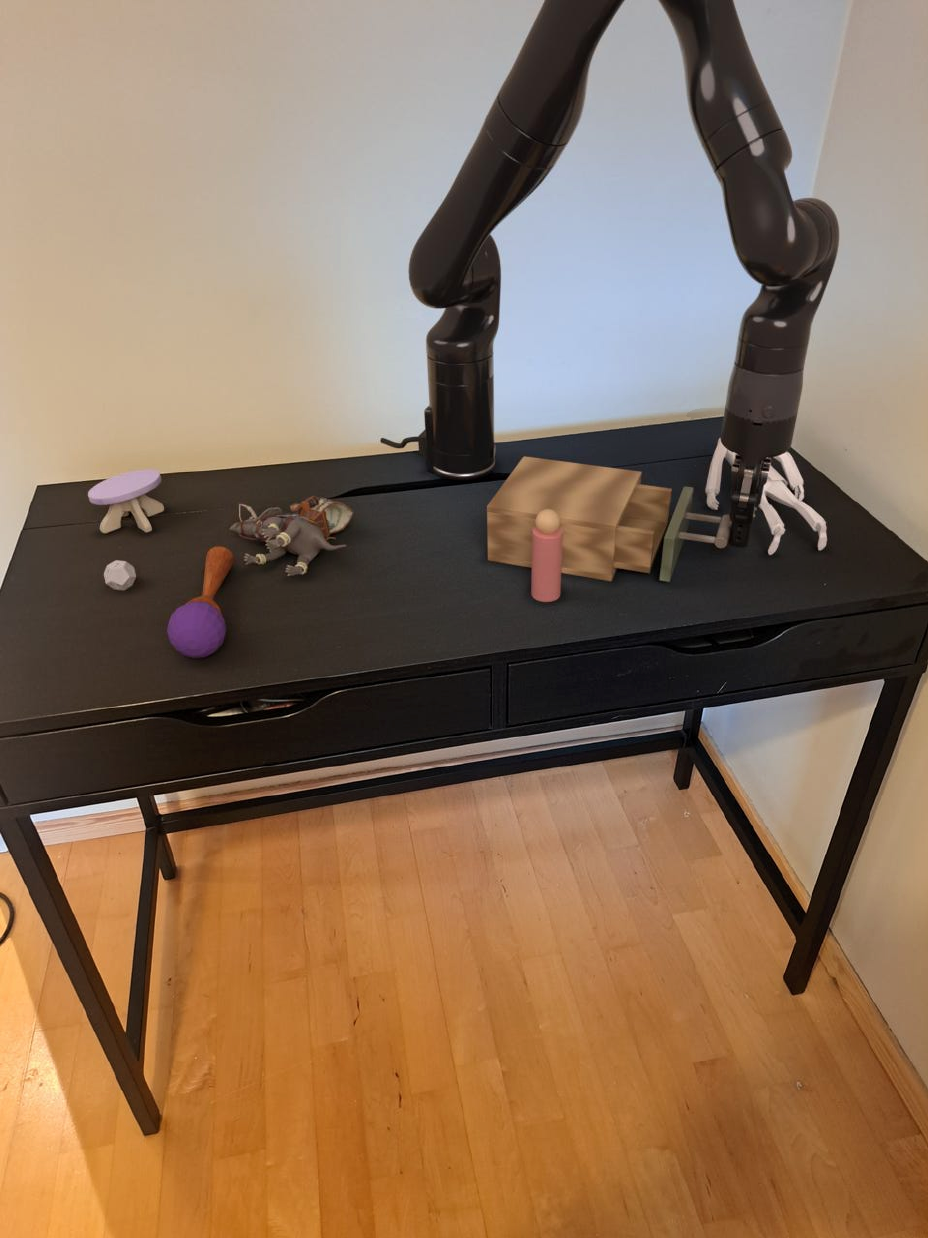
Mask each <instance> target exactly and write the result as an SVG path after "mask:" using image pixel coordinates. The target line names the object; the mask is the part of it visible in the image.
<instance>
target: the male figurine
mask: <svg viewBox="0 0 928 1238" xmlns="http://www.w3.org/2000/svg"><path fill="white" fill-rule="evenodd" d="M735 455H736V453H734V452H731V451H729V450H728V449H726V448H725V447H724V446H723V444H722V442H721V437H719V438H718V440H717V445H716V448H715V450H714V453H713V455H712V459H711V461H710V465H709V471H708V474H707V481H706V485H705V489H704V491H705V495H706V496H707V497H706V504H707V507H708V508H710V509H711V510H713V511H718V508H719V504H720V502H719V501H718V500H717V499H716V496H717V497H718V495H719V493H720V491H721V490H720V489H721V481H722V472H723V471H722V470H723V462H724V460H726V461H727V463H728V464H729V465H730V466H731V467H732V465H733V463H734V460H735ZM772 458H773V459H775V460H776V461H778V462H779V463H780V464H781V467H782V470H783V472H784V475H785V478H786V479H785V478H784V477H783V476H782V475H781V473H779V472H778V471H777V470H776V469H775V468H774V467H773V466H772V463H771V464H770V469H769V473H768V478H767V482H766V484H765V485H764V489H763V494H762V498H761V503H760V505H758V506H757V508H759V510H762V511H763V514H764V517H765V519H766V522H767V524H768V527H769V529H770V534H771V535H773V539H772V541H771V542H770V545H769V547H768V549H767V554H768V555H769V556H771V555H773V554H774V553H776V551H777V549H778V547H779V545H780V542H781V537H782V535H784V534H785V532H786V528H785V523H784V522H783V520H782V518H781V517H780V515H779V514H778V511H777V510H776V509H775V507H773V505H772V504H770V503H769V502H768V499H767V497H768V498H769V499H771V500H772V501H775V502H777V503H779V504H781V505H784V506H787V507H788V508H792V509H794V510H795V511H797V512H798V513H799V514H800V515H801V517H803V519H804V520H805V521H806V522H807V523H808V525H809V526H810V527H811V528H812V530H813V532H817V534H818V540H817V549H818V551H822V550H824V549H825V547H826V546H827V541H828V537H827V525H826V524H827V521H826V520H825V519H824V518H823V517H822V516H821V515H820V514H819V513H818V512H817V511H815V509H813V508H812V507H811V506H810V505H808V504H806V503H805V502H804V501H803V500H804V498H805V488H804V484H805V483H804V479H803V477H802V475H801V473H800V470H799V468H798V466H797V464H796V462H795V459H794V457H793V456H792V455H791V453H790V452H788V451H787V452H785V453H784V454H782V455H779V456H776V457H772ZM788 486H789V488H790V489H791V490H793V491H794V493H792V492H791V490H790V489H789V488H788Z"/></svg>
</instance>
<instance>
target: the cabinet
mask: <svg viewBox="0 0 928 1238" xmlns="http://www.w3.org/2000/svg"><path fill="white" fill-rule="evenodd" d="M642 472H643V471H638V470H631V469H623V468H617V467H616V468H615V467H608V466H600V465H592V464H585V463H578V462H571V461H563V460H554V459H547V458H539V457H533V456H523V457H522V458H521V459H520V460H519V462H518V463H517V465H516V466H515V468H514V469H513V471H512V472H511V473H510V474H509V476H507V478H506V480H505V481H504V482H503V484H502V485H501V487H500V488H499V489H498V490H497V492H496V493H495V495H494V496H493V497H492V499H490V501H489V503H487V505H486V520H487V521H486V523H487V525H486V526H487V533H486V534H487V561H490V562H496V563H502V564H506V565H513V566H519V567H524V568H530V569H532V530H533V528H534V527H535V526H536V524H535V520H536V517H537V515H538V513H539V512H541V511H542V510H545V509H551V510H554V511H555V512H557V513H558V515H559V516H560V520H561V523H560V527H561V528H562V530H563V544H562V569H561V574H565V575H571V576H577V577H582V578H588V579H593V580H594V579H595V580H600V581H606V582H612V581H613V579H614V577H615V574H616V572H617V571H618V568H615V567H614V558H615V545H616V533H617V527H618V525H619V523H620V521H621V519H622V517H623V514H624V512H625V510H626V508H627V506H628V504H629V502H630V500H631V498H632V495H633V493H634V491H635V489H636V487H637V485H638V484H641V482H642ZM641 485H642V484H641Z"/></svg>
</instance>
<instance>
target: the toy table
mask: <svg viewBox="0 0 928 1238" xmlns="http://www.w3.org/2000/svg"><path fill="white" fill-rule="evenodd" d="M161 483H162V475H161V472H160V471H159V470H157V469H151V468H145V469H135V470H131V471H127V472H123V473H119V474H116V475H114V476H111V477H109V478H107V479H104V480H102V481H100V482H98V483H97V484H95V485H94V486H92V487H91V488H90V489H89V490H88V491H87V497H88V500H89V502H90V503H91V504H93V505H98V506H106V505H109V507H108V511H107V513H106V514H105V516H104V517H103V519H102V520H101V522H100V525H99V530H100V532H101V533H102V534H108V533H110V532H113V531H115V530H118V529H121V527H122V524H121V522H122V518H125V517H128V516H129V515H130V513H131V514H132V516H133V518H134V520H135V522H136V525H137V528H138V529H140V530H141V531H143V532H144V533H151V532H152V531H153V527H152V525H151V523H150V521H149V519H148V517H152V516H155V515H158V514H160V513H163V512H164V511H165V507H164V504H163V503H162V502H160V501H158V500H156V499H154V498H152V497H149V496H148V495H147V493H150V491H153V490H154V489H155V488H157V487H158V486H159V485H161ZM129 512H130V513H129Z"/></svg>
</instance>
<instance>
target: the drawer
mask: <svg viewBox="0 0 928 1238" xmlns="http://www.w3.org/2000/svg"><path fill="white" fill-rule="evenodd" d="M672 492H673V489H672V488H669V487H662V486H655V485H649V484H648V485H647V484H638V485H637V487H636V489H635V491H634V493H633V495H632V498H631V500H630V502H629V504H628V506H627V508H626V510H625V512H624V514H623V517H622V519H621V521H620V523H619V525H618V527H617V533H616V545H615V558H614V567H615V568H617V569H621V570H627V571H634V572H640V573H645V574H650V573H651V571H652V568H653V566H654V562H655V561H656V558H657V555H658V552H659V550H660V548H661V545H662V542H663V546H662V554H661V562H660V572H659V580H658V581H662V582H667V583H670V581H671V579H672V576H673V573H674V571H675V567H676V564H677V563H678V559H679V556H680V553H681V551H682V546H683V545H684V542H685V540H689V541H695V542H703V543H709V544H714V545H715V547H716V548H717V549H724V548H726V547H727V545H728V541H729V535H730V528H731V522H732V521H730V517H729V515H730V514H723V515H722V517H721V516H715V515H710V514H709V515H707V514H702V513H694V512H692V511H691V510H692V503H693V502H692V501H693V495H694V487H691V486H686V485H685V486H683V488H682V490H681V493H680V495H679V498H678V501H677V504H676V506H675V509H674V510H673V511H674V512H673V514H672V517H671V519H670V521H669V518H670V512H671V503H672V494H673V493H672ZM690 520H692V521H693V520H694V521H701V522H706V523H714V524H719V525H718V528H717V532H716V536H711V535H706V534H698V533H690V532H688V530H689V526H690V525H689V524H690Z"/></svg>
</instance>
